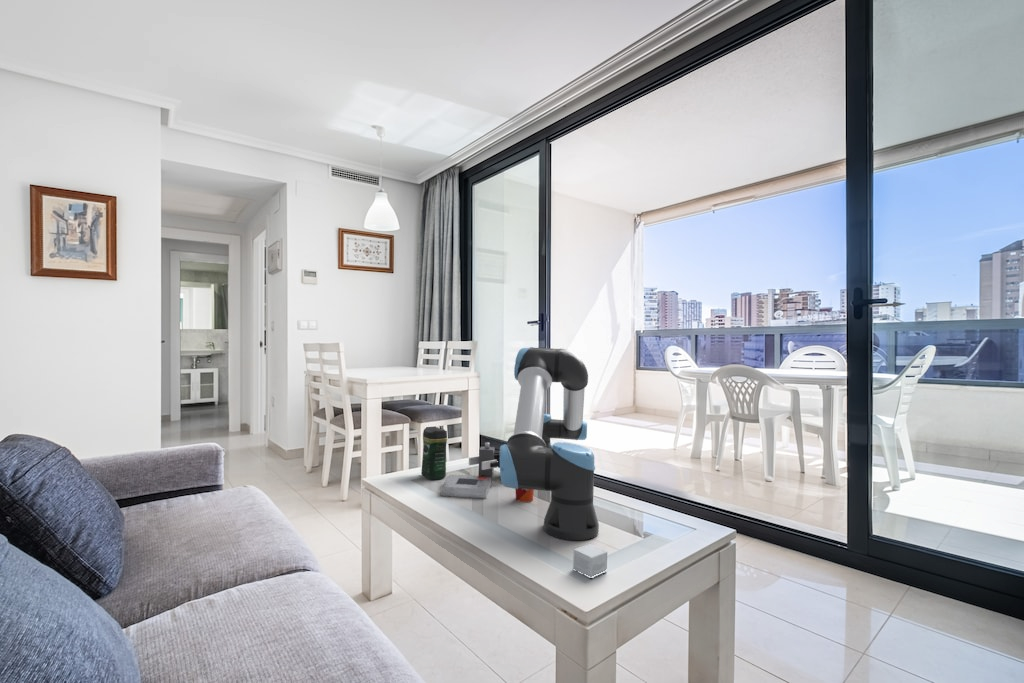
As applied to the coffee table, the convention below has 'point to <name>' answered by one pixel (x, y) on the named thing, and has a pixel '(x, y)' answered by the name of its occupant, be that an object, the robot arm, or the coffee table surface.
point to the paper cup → (524, 495)
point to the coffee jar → (434, 453)
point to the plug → (486, 455)
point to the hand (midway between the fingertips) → (475, 463)
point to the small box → (590, 560)
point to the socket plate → (466, 486)
